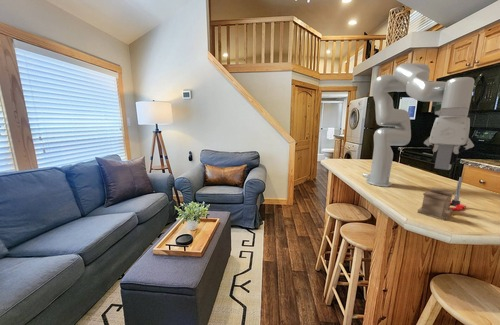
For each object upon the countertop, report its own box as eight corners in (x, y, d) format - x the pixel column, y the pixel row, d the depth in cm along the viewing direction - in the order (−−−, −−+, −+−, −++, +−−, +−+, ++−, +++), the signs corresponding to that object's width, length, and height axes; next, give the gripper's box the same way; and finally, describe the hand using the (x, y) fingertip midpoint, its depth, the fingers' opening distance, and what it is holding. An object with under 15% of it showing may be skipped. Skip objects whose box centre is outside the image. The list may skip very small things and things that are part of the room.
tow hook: (452, 212, 85) (468, 209, 87) (458, 182, 82) (474, 179, 84) (430, 204, 93) (445, 202, 95) (434, 176, 90) (450, 174, 92)
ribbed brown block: (417, 212, 82) (421, 192, 81) (426, 205, 91) (430, 186, 89) (444, 220, 76) (449, 199, 75) (452, 211, 84) (456, 192, 83)
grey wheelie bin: (433, 168, 81) (438, 142, 79) (436, 166, 84) (441, 141, 82) (449, 170, 77) (454, 143, 76) (451, 168, 80) (457, 142, 78)
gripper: (421, 113, 81) (413, 160, 84) (486, 112, 68) (473, 168, 71) (427, 114, 86) (419, 159, 89) (488, 114, 73) (476, 166, 76)
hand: (443, 162), depth 80 cm, fingers closed on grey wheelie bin, 4 cm apart
